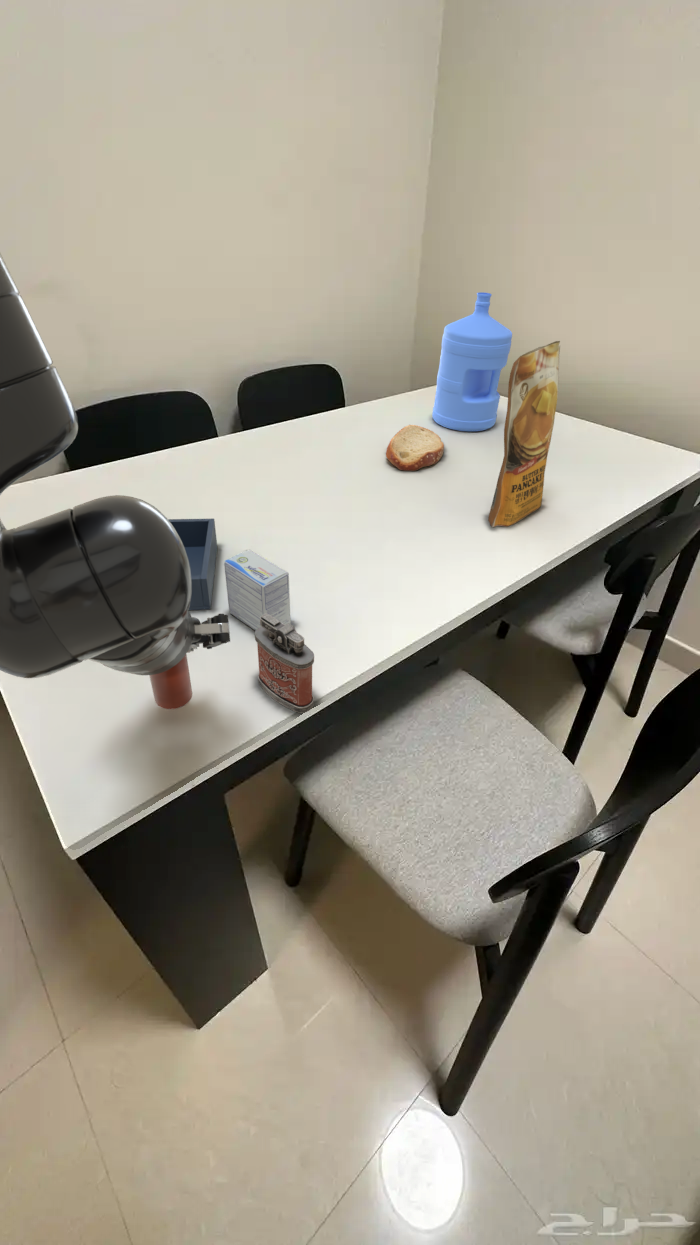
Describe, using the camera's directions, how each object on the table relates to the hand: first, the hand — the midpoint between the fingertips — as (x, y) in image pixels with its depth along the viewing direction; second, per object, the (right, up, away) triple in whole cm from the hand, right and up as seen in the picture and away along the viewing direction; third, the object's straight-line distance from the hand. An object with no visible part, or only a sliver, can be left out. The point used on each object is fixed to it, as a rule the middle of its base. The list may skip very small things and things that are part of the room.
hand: (166, 643), depth 61 cm
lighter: (+12, -6, +7) cm, 15 cm away
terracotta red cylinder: (0, -6, +2) cm, 6 cm away
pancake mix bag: (+49, +23, +46) cm, 71 cm away
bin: (-9, +9, +24) cm, 27 cm away
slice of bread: (+33, +40, +66) cm, 84 cm away
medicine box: (+7, +2, +17) cm, 19 cm away
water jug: (+48, +52, +83) cm, 109 cm away
